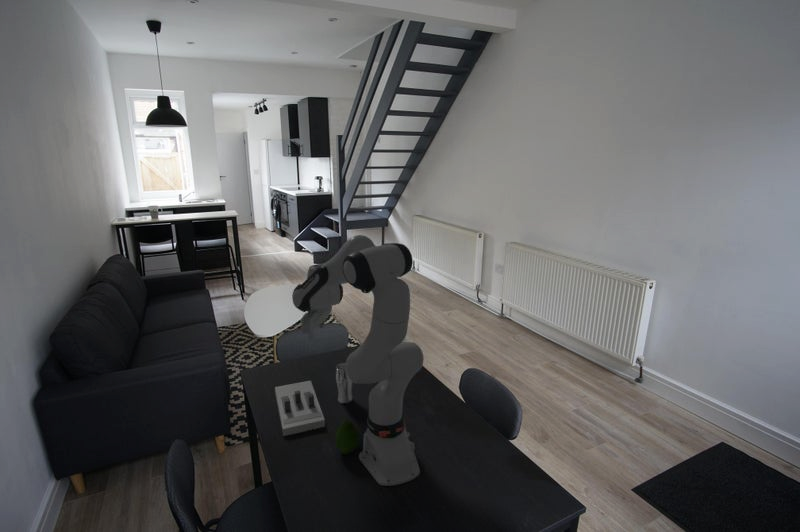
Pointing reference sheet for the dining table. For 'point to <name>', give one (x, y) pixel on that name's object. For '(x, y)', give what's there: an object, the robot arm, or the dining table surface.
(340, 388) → the beer glass
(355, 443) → the avocado
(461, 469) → the dining table surface
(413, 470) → the robot arm
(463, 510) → the dining table surface
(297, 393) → the breaker handle
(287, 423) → the breaker panel
